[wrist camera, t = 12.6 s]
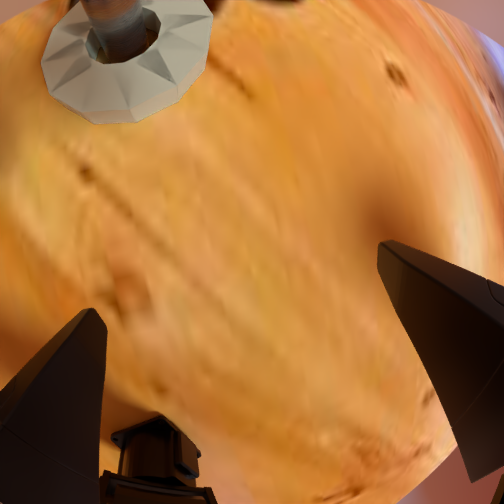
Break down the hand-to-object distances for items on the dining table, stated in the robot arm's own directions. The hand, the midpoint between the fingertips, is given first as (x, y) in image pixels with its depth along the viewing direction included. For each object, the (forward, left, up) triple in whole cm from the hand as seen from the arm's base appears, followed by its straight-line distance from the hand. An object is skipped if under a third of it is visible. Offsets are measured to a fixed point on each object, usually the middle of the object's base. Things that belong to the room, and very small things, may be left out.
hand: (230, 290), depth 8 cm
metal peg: (+1, +16, -12) cm, 20 cm away
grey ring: (+1, +16, -12) cm, 20 cm away
